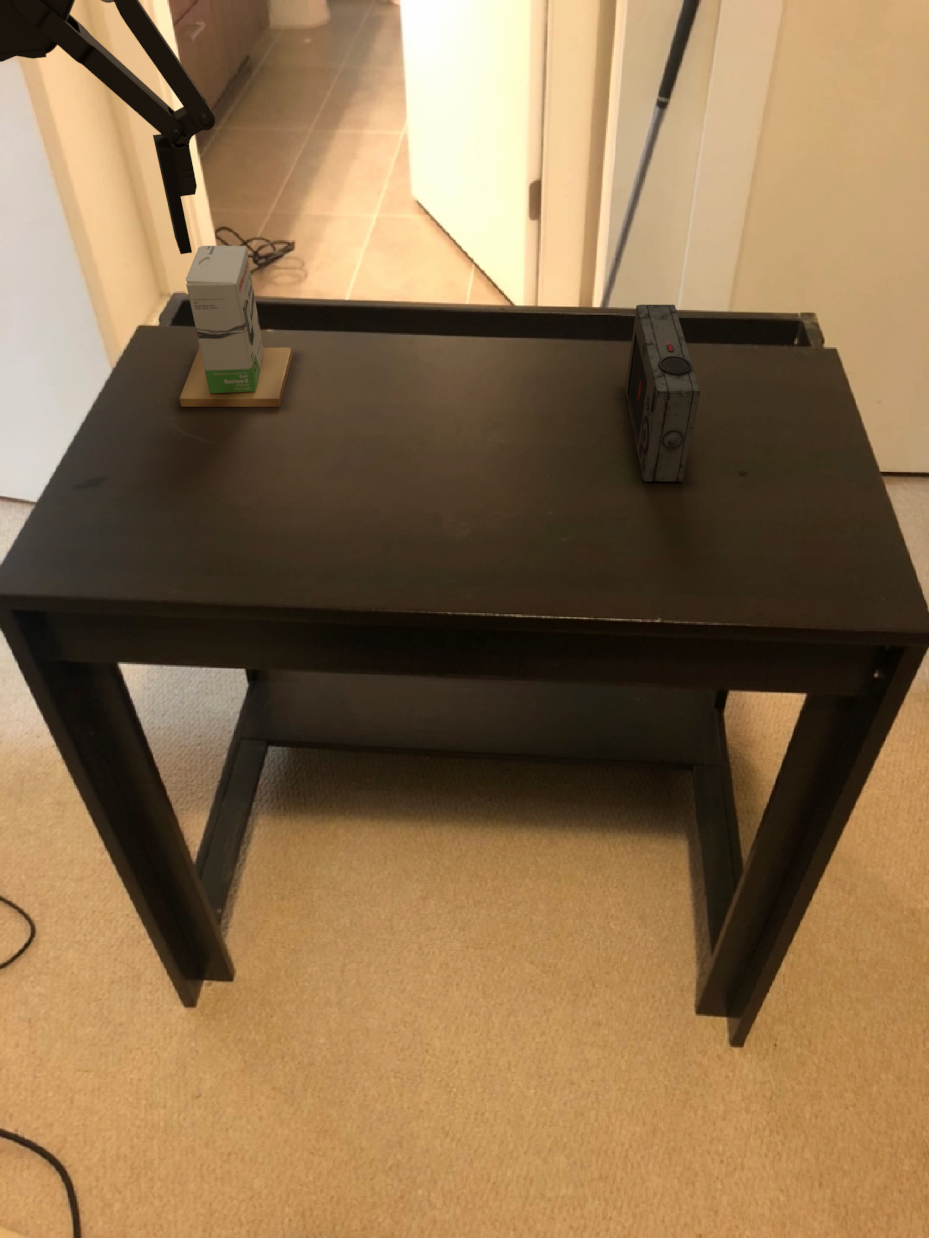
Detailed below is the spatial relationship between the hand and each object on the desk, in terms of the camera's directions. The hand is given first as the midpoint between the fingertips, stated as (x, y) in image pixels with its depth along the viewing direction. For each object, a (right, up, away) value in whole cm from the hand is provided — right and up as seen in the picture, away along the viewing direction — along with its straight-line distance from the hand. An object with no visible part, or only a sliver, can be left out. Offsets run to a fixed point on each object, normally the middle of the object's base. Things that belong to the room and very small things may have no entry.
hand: (77, 261), depth 63 cm
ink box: (+1, +3, +39) cm, 39 cm away
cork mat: (+1, +2, +39) cm, 40 cm away
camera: (+43, -6, +32) cm, 54 cm away
